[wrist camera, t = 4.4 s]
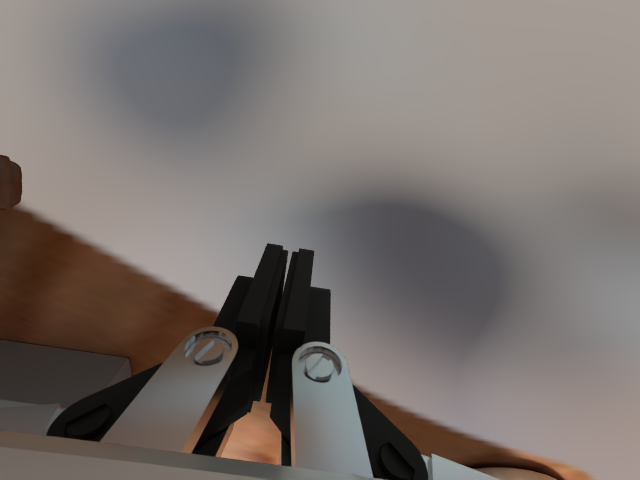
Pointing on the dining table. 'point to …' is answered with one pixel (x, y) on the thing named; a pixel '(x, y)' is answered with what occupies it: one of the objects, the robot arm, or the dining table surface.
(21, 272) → the dining table surface
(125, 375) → the bay
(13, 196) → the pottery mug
